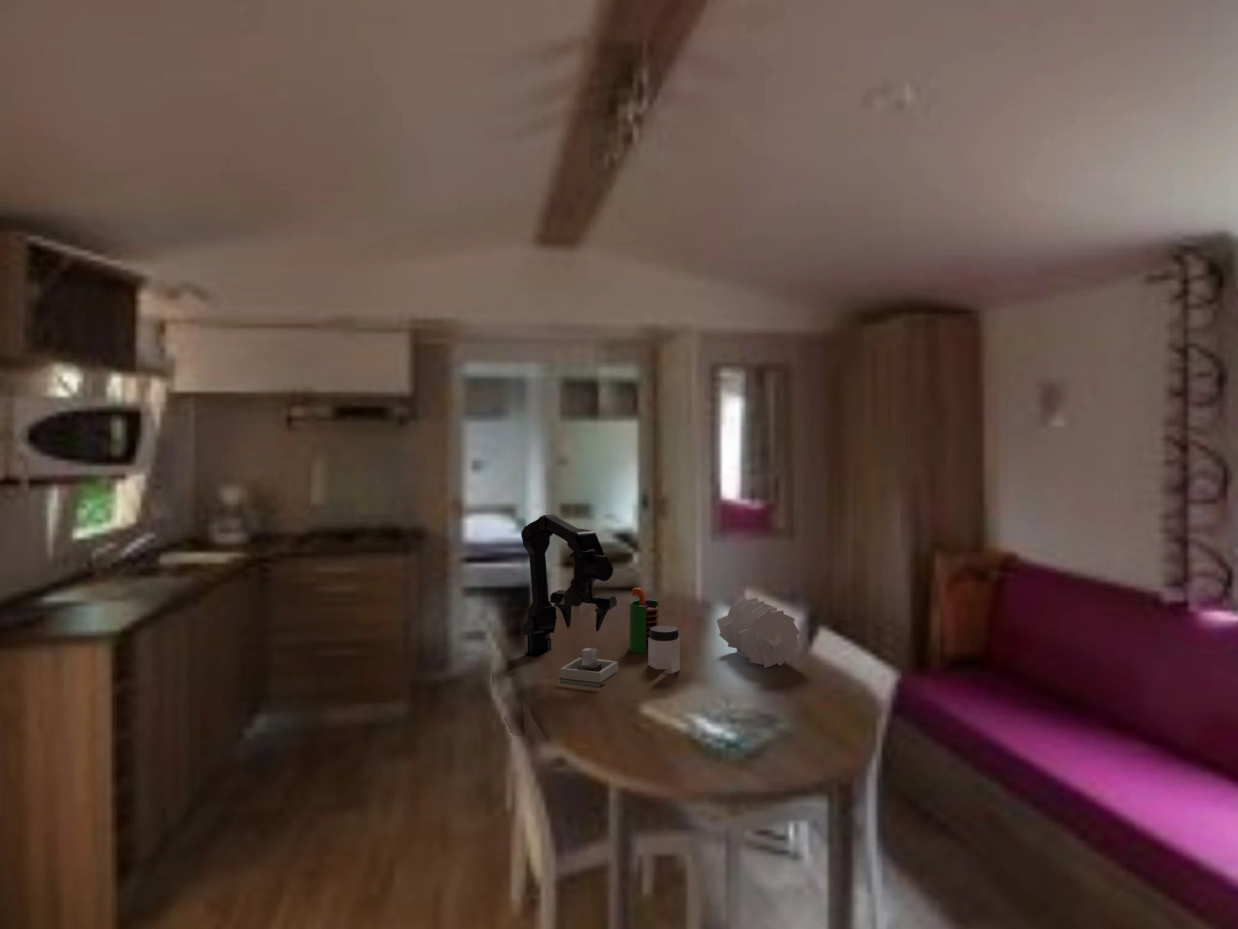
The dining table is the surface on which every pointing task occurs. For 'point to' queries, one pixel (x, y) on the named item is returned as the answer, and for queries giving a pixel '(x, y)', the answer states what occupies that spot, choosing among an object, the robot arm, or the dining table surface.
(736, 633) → the spiral staircase
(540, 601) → the robot arm
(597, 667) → the grey square peg
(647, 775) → the dining table surface
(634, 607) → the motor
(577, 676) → the bin
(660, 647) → the jar
